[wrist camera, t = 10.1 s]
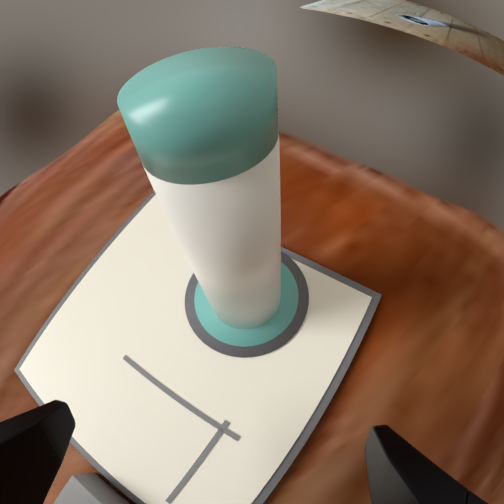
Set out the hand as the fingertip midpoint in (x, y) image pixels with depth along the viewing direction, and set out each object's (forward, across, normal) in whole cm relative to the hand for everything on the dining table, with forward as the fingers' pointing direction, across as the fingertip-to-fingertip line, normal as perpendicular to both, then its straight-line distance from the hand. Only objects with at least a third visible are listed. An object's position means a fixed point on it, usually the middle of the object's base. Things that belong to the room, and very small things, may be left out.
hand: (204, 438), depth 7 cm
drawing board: (+9, +4, +3) cm, 10 cm away
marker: (+11, 0, 0) cm, 11 cm away
